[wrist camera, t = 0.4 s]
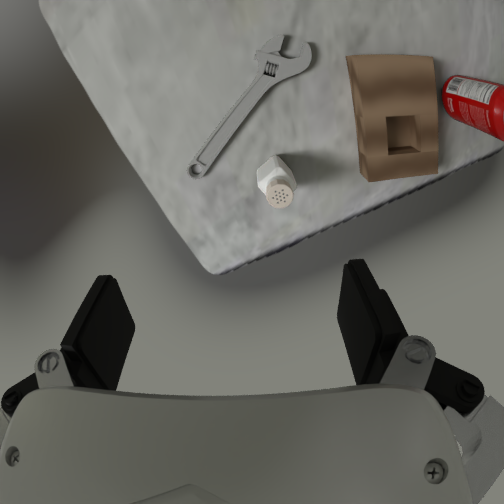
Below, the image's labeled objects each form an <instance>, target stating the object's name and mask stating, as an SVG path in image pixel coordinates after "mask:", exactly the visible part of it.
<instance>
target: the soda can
mask: <svg viewBox="0 0 504 504" xmlns="http://www.w3.org/2000/svg"><path fill="white" fill-rule="evenodd" d="M442 102H443V105H444V108H445V110H446V112H447V113H448V114H449V115H450V116H451V117H452V118H453V119H455V120H457V121H459V122H462V123H464V124H467V125H469V126H471V127H474V128H476V129H478V130H480V131H483V132H485V133H487V134H489V135H491V136H493V137H495V138H497V139H500V140H502V141H504V85H503V84H499V83H495V82H491V81H486V80H482V79H477V78H472V77H467V76H461V75H454V76H451V77H450V78H448V79H447V81H446V82H445V84H444V86H443V89H442Z"/></svg>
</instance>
